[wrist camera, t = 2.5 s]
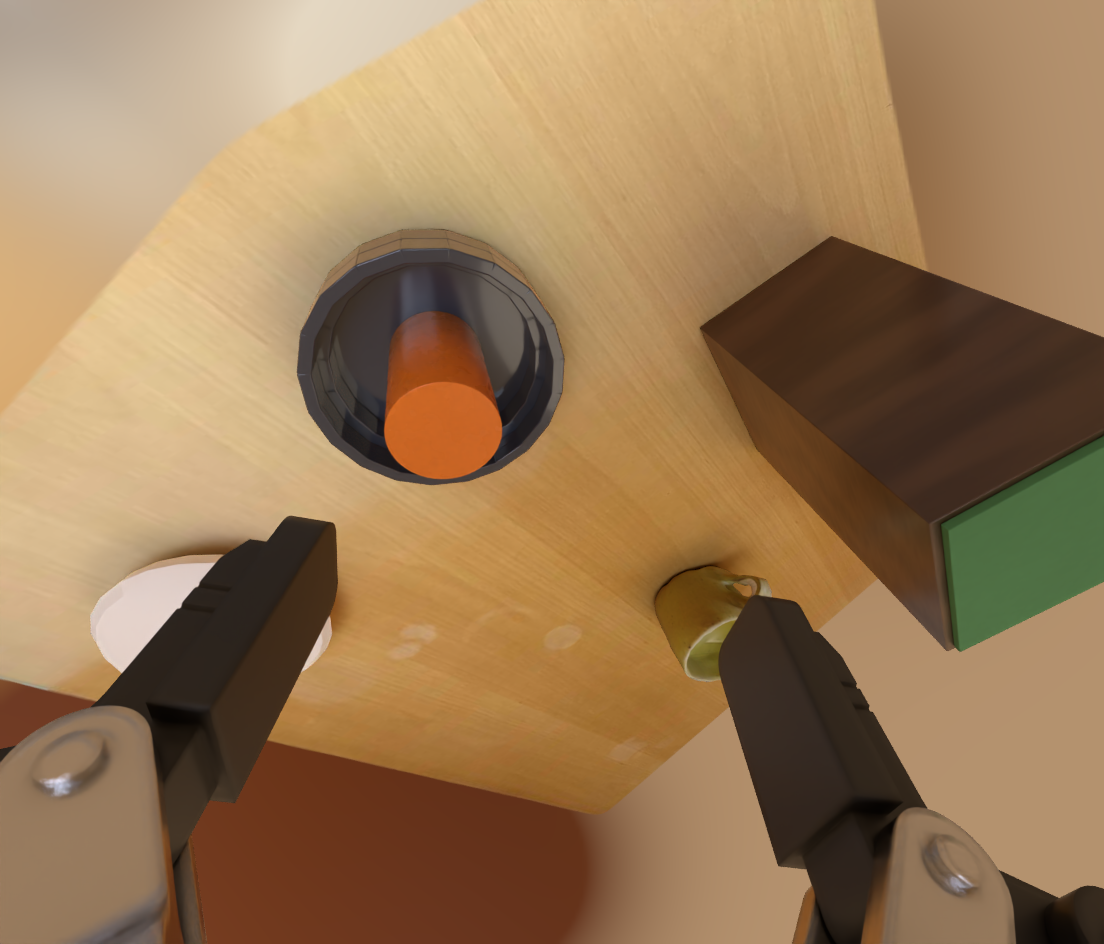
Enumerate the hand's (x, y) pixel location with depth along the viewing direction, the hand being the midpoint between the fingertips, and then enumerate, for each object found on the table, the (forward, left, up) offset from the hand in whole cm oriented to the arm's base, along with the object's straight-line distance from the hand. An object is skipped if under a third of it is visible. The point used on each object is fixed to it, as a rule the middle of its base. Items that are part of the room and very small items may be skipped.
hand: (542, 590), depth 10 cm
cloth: (+21, +15, -4) cm, 26 cm away
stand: (+21, +15, -24) cm, 35 cm away
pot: (+4, -5, -24) cm, 25 cm away
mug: (+41, -1, -24) cm, 48 cm away
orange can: (+4, -5, -24) cm, 24 cm away
